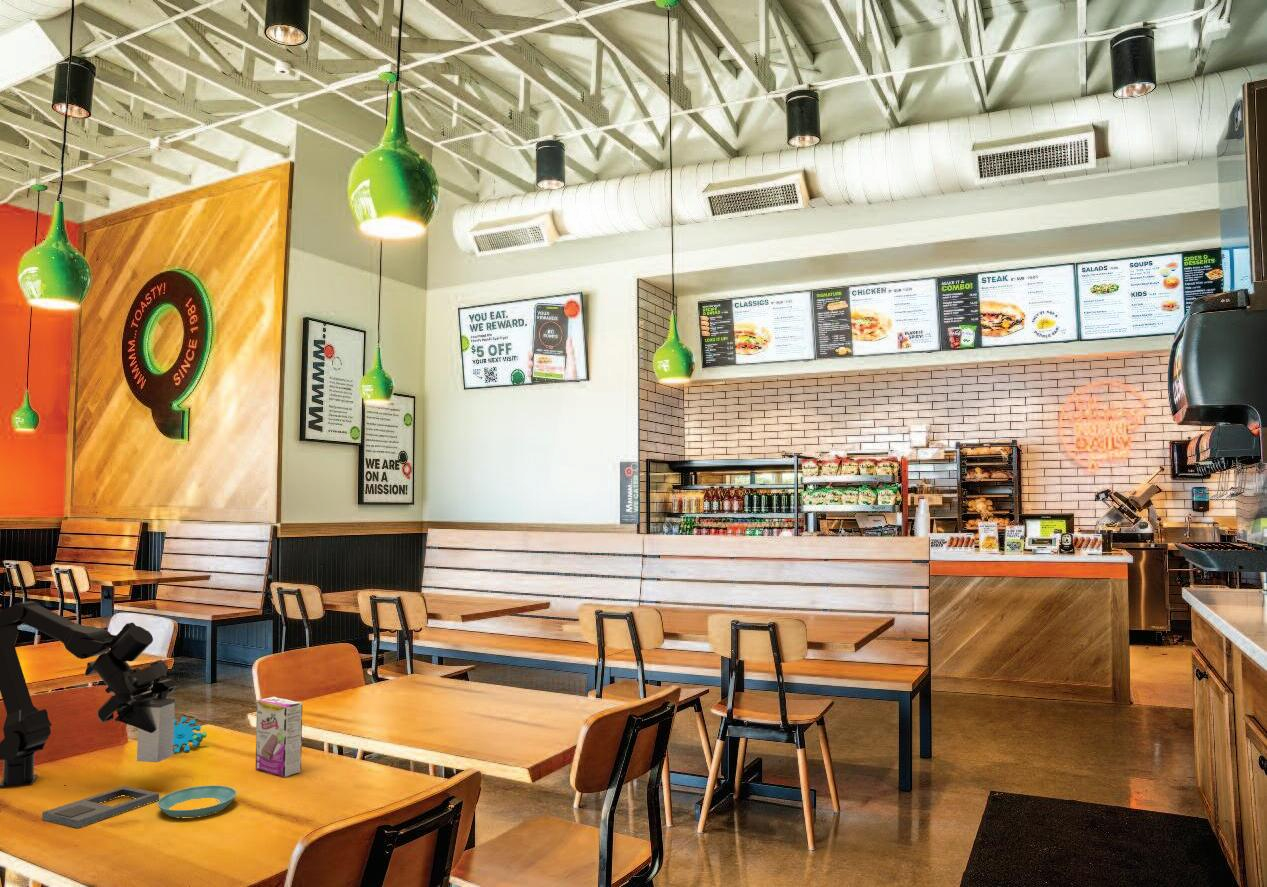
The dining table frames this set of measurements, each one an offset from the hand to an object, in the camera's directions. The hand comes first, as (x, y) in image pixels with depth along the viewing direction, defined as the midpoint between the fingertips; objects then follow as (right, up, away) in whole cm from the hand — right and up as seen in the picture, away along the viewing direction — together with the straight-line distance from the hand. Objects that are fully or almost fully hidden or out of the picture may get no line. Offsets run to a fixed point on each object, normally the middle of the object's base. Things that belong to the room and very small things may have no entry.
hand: (161, 728), depth 195 cm
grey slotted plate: (-5, -13, -13) cm, 19 cm away
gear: (-11, -15, +30) cm, 36 cm away
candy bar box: (+21, -14, +13) cm, 28 cm away
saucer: (+14, -13, -12) cm, 23 cm away
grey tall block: (-1, -7, 0) cm, 7 cm away
